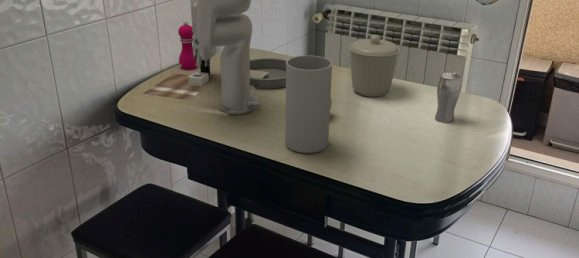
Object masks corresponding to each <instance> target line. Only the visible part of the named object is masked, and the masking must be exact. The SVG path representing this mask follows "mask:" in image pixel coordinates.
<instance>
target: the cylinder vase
mask: <svg viewBox="0 0 579 258" xmlns="http://www.w3.org/2000/svg"><path fill="white" fill-rule="evenodd" d="M286 60H287V61H286V86H285V128H284V129H285V136H284V137H285V140H284V141H285V143H284V144H285V145H286V146H287V147H288V149H289V150H292V151H293V152H296V153H301V154H315V153H319V152H322V151H323V150H325V149H326V148H327V147H328V144H329V139H330V137H329V134H330V117H331V116H330V114H331V112H330V111H331V110H330V98H331V99H332V95H331V93H332V77H333V75H332V74H333V72H332V71H333V62H332V60H330V59H329V58H326V57H324V56H319V55H297V56H293V57H291V58H290V57H289V58H288V59H286Z"/></svg>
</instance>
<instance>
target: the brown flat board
mask: <svg viewBox="0 0 579 258" xmlns="http://www.w3.org/2000/svg"><path fill="white" fill-rule="evenodd" d="M190 75H191V74H181V73H172V74H171V75H169V76H168V77H166V78H164V79H163V80H162V81H159V82H158V83H156V84H155V85H154V86H152V87H151V88H149V89H147V90H146V91H144V92H142V94H144V95H149V96H156V97H162V98H163V97H164V98H171V99H177V100H184V101H190V100H192V99H193V98H195V97H197V95H198V94H199V93H201V92H203V90H205V89H206V88H207V87H208V86H210V85H211V84H213V83H214V82H216V80H218V78H213V77H208V78H209V81H208V82H207V83H205V84H204V85H203V86H194V85H189V80H188V77H189V76H190Z"/></svg>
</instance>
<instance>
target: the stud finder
mask: <svg viewBox="0 0 579 258" xmlns="http://www.w3.org/2000/svg"><path fill="white" fill-rule="evenodd" d="M189 75H190V76H189V77H188V80H189V85H194V86H203V85H204V84H205V83H207V82H208V81H209V78H210V77H209V76H208V73H202V72H201V71H195V72H193V73H192V74H189Z"/></svg>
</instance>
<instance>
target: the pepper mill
mask: <svg viewBox="0 0 579 258" xmlns="http://www.w3.org/2000/svg"><path fill="white" fill-rule="evenodd" d="M182 23H183V24H182V25H181V26H180V27H179V28H178V32H177V33H178V34H177V35H179V37H180V38H179V39H180V41H179V42H180V43H181V52H180V54H179V56H178V63H179V65H181V66H180V69H181V70H183V71H193V70H195V69H197V68H198V67H197V65H198V64H197V63H196V61H197V60H195V59H194V56H193V32H192V25H189V23H188V20H184V21H183V22H182Z"/></svg>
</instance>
